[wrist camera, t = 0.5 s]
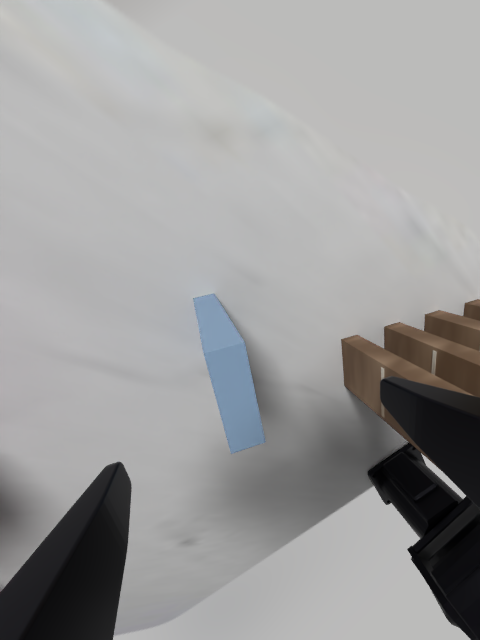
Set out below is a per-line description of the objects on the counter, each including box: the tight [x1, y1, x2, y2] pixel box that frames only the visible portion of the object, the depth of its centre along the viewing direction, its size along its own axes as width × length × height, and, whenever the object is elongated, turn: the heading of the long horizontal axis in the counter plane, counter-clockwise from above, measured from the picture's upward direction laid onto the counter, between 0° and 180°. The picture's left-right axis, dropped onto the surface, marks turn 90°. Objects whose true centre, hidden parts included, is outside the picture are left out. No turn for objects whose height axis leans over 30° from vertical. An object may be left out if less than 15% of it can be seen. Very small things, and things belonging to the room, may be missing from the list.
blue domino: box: [193, 294, 265, 454], centre depth 15 cm, size 2×5×10 cm, turn 12°
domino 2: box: [341, 335, 474, 471], centre depth 19 cm, size 2×5×10 cm, turn 11°
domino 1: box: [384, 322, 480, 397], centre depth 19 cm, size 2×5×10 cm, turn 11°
